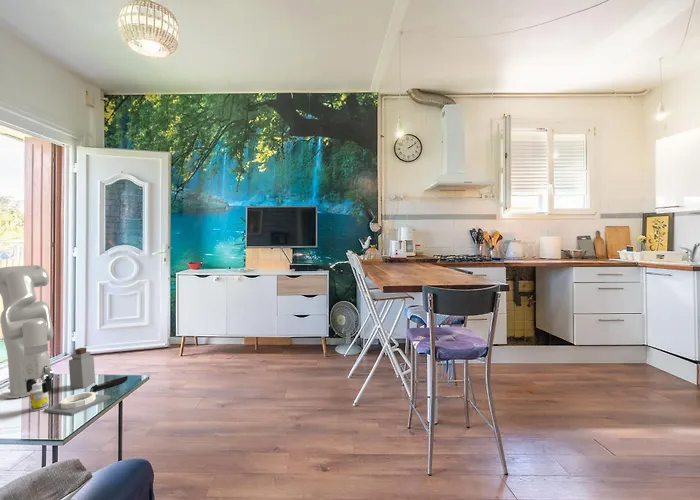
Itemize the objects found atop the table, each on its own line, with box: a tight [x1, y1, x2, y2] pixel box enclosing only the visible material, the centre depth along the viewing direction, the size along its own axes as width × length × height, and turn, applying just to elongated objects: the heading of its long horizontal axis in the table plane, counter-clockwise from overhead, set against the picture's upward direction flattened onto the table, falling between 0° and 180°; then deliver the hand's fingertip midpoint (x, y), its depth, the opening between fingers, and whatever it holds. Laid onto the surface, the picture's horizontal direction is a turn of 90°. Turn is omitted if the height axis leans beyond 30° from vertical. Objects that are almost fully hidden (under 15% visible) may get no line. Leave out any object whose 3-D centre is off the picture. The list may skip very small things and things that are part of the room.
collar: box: [43, 391, 112, 416], centre depth 150 cm, size 16×16×3 cm
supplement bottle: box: [29, 382, 50, 412], centre depth 149 cm, size 6×6×10 cm
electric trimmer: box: [89, 375, 128, 393], centre depth 170 cm, size 4×16×3 cm, turn 144°
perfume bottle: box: [68, 347, 96, 390], centre depth 173 cm, size 7×7×18 cm
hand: (39, 391), depth 148 cm, fingers open, 9 cm apart
